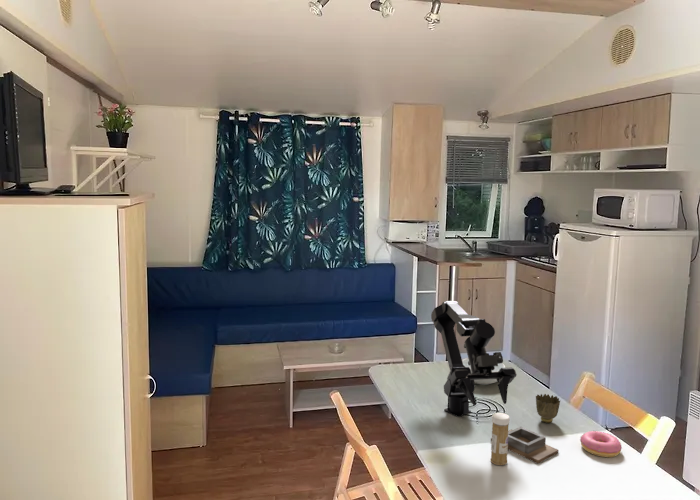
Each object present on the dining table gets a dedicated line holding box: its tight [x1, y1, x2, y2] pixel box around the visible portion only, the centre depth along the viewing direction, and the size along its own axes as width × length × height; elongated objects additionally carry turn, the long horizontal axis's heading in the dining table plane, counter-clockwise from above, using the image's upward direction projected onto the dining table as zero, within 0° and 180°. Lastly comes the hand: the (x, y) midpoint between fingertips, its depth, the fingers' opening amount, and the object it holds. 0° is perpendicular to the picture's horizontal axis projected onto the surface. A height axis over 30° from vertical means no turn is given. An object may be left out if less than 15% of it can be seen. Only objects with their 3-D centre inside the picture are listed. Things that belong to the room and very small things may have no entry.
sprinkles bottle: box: [490, 412, 510, 466], centre depth 148 cm, size 5×5×13 cm
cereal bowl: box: [462, 357, 506, 386], centre depth 210 cm, size 17×17×7 cm
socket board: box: [490, 426, 559, 464], centre depth 157 cm, size 16×10×4 cm, turn 37°
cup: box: [535, 393, 561, 424], centre depth 174 cm, size 8×7×8 cm
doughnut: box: [579, 430, 623, 458], centre depth 156 cm, size 11×11×4 cm
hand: (490, 404), depth 154 cm, fingers open, 9 cm apart
